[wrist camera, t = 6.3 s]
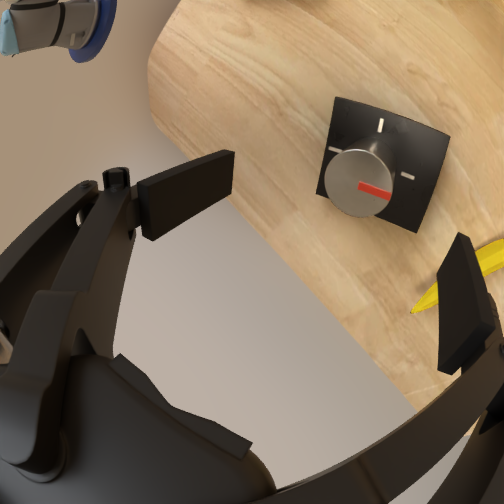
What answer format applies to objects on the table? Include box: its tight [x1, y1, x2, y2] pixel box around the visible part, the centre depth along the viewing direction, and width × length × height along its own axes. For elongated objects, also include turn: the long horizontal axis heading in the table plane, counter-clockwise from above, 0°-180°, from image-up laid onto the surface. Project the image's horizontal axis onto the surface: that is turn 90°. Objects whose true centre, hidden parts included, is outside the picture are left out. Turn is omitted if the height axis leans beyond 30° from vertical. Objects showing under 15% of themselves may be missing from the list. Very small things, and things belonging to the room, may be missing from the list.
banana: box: [410, 238, 504, 314], centre depth 22 cm, size 3×19×6 cm, turn 135°
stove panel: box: [316, 97, 450, 233], centre depth 25 cm, size 12×11×3 cm
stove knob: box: [325, 137, 396, 217], centre depth 21 cm, size 5×5×9 cm
